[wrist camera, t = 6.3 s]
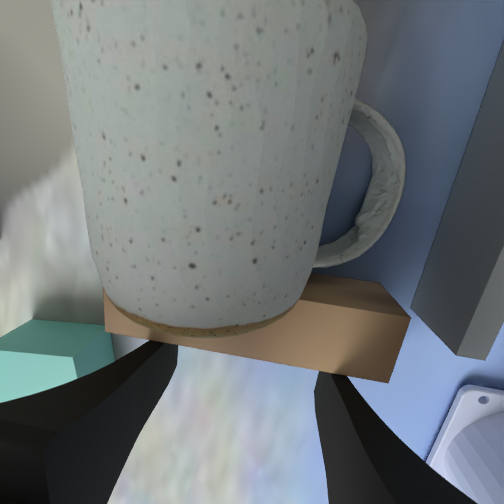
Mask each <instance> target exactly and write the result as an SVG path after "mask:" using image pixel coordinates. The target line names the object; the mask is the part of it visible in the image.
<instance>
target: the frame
mask: <svg viewBox="0 0 504 504" xmlns="http://www.w3.org/2000/svg"><path fill="white" fill-rule="evenodd" d="M411 309H412V310H413V311H414V312H415V313H416V314H417V316H418V317H419V318H420V319H421V320H422V321H423V322H424V323H425V324H426V325H427V326H428V327H429V328H430V329H431V330H432V331H433V332H434V333H435V334H436V335H437V336H438V337H439V338H440V339H441V340H442V341H443V342H444V343H445V345H446V346H447V347H448V348H449V349H450V350H451V351H452V352H453V353H454V354H455V355H456V356H462V357H468V358H473V359H479V360H484V361H485V360H486V358H487V356H488V354H489V352H490V350H491V347H492V345H493V343H494V341H495V339H496V337H497V335H498V333H499V331H500V329H501V327H502V324H503V322H504V42H503V44H502V47H501V50H500V53H499V56H498V59H497V62H496V65H495V67H494V70H493V73H492V76H491V79H490V82H489V85H488V87H487V90H486V93H485V96H484V99H483V102H482V105H481V107H480V110H479V113H478V116H477V119H476V122H475V125H474V128H473V130H472V133H471V136H470V139H469V142H468V145H467V148H466V150H465V153H464V156H463V159H462V162H461V165H460V168H459V171H458V173H457V176H456V179H455V182H454V185H453V188H452V191H451V193H450V196H449V199H448V202H447V205H446V208H445V211H444V214H443V216H442V219H441V222H440V225H439V228H438V231H437V234H436V236H435V239H434V242H433V245H432V248H431V251H430V254H429V256H428V259H427V262H426V265H425V268H424V271H423V274H422V277H421V279H420V282H419V285H418V288H417V291H416V294H415V297H414V299H413V302H412V305H411Z"/></svg>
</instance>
